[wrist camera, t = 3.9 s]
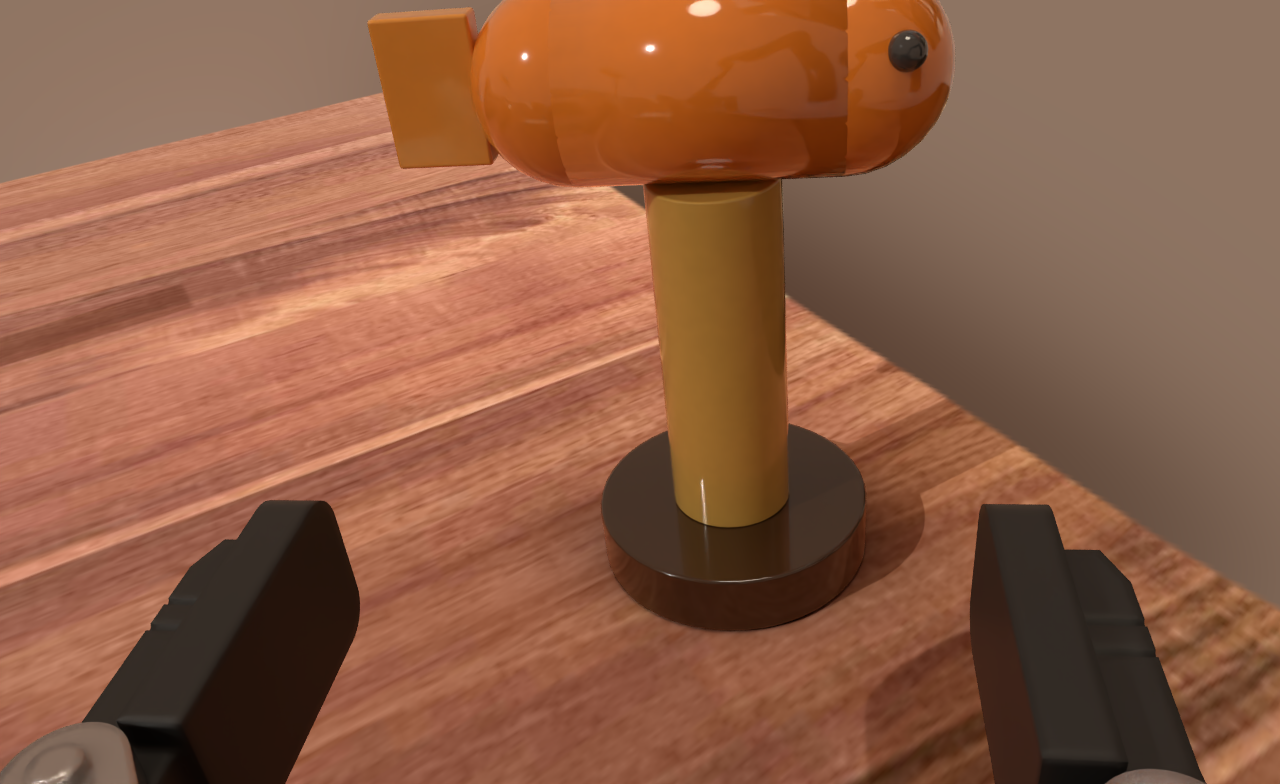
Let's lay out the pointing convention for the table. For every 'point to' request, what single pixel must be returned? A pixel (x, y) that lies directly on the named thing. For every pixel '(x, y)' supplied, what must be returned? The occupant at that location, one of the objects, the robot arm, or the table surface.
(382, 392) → the table surface
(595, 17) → the goldfish figurine
